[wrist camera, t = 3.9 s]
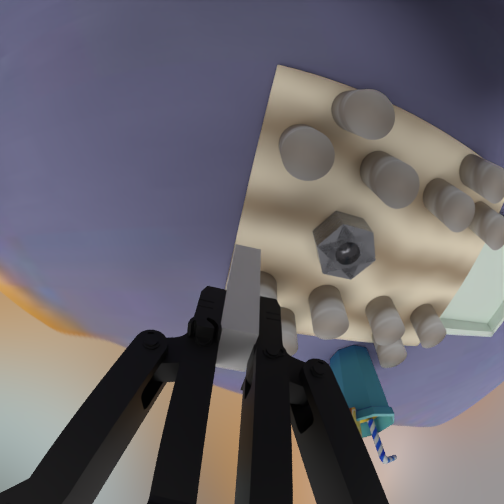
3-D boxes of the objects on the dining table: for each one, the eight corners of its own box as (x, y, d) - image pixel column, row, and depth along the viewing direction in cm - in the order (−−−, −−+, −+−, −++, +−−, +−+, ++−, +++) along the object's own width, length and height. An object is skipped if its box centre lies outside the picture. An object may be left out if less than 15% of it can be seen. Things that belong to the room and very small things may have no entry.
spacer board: (277, 66, 16) (280, 55, 12) (505, 177, 18) (535, 195, 14) (220, 312, 29) (213, 348, 24) (414, 340, 31) (426, 369, 26)
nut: (320, 206, 21) (327, 219, 19) (376, 222, 21) (387, 236, 19) (303, 253, 23) (307, 270, 21) (356, 265, 24) (364, 282, 21)
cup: (397, 363, 33) (422, 452, 20) (354, 387, 36) (368, 473, 24) (348, 321, 29) (377, 445, 16) (297, 353, 32) (303, 468, 19)
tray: (494, 210, 20) (508, 220, 18) (536, 240, 21) (546, 249, 19) (432, 319, 28) (439, 333, 26) (484, 325, 29) (491, 336, 27)
